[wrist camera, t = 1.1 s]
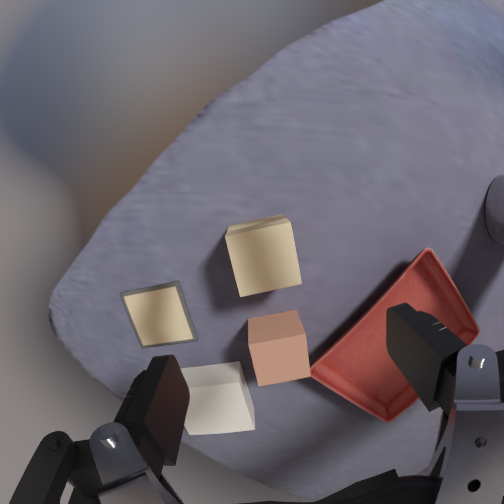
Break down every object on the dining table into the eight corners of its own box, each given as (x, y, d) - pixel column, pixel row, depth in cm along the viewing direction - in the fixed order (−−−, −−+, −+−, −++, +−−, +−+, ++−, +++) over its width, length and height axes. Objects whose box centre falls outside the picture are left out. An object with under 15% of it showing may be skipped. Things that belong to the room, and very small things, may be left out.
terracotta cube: (296, 309, 28) (305, 333, 23) (301, 348, 29) (310, 376, 25) (247, 318, 28) (248, 344, 24) (256, 357, 30) (258, 386, 25)
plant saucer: (469, 322, 30) (482, 332, 27) (381, 410, 33) (388, 425, 30) (412, 236, 27) (428, 243, 24) (299, 355, 30) (304, 373, 27)
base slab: (239, 359, 30) (239, 381, 26) (254, 406, 32) (254, 429, 28) (172, 368, 30) (165, 389, 26) (194, 413, 32) (189, 435, 28)
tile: (178, 280, 27) (177, 282, 27) (198, 339, 29) (197, 341, 28) (120, 292, 27) (119, 294, 27) (142, 346, 29) (141, 348, 29)
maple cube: (282, 214, 26) (290, 222, 21) (292, 265, 27) (301, 283, 22) (229, 226, 26) (225, 236, 21) (241, 276, 27) (240, 297, 22)
